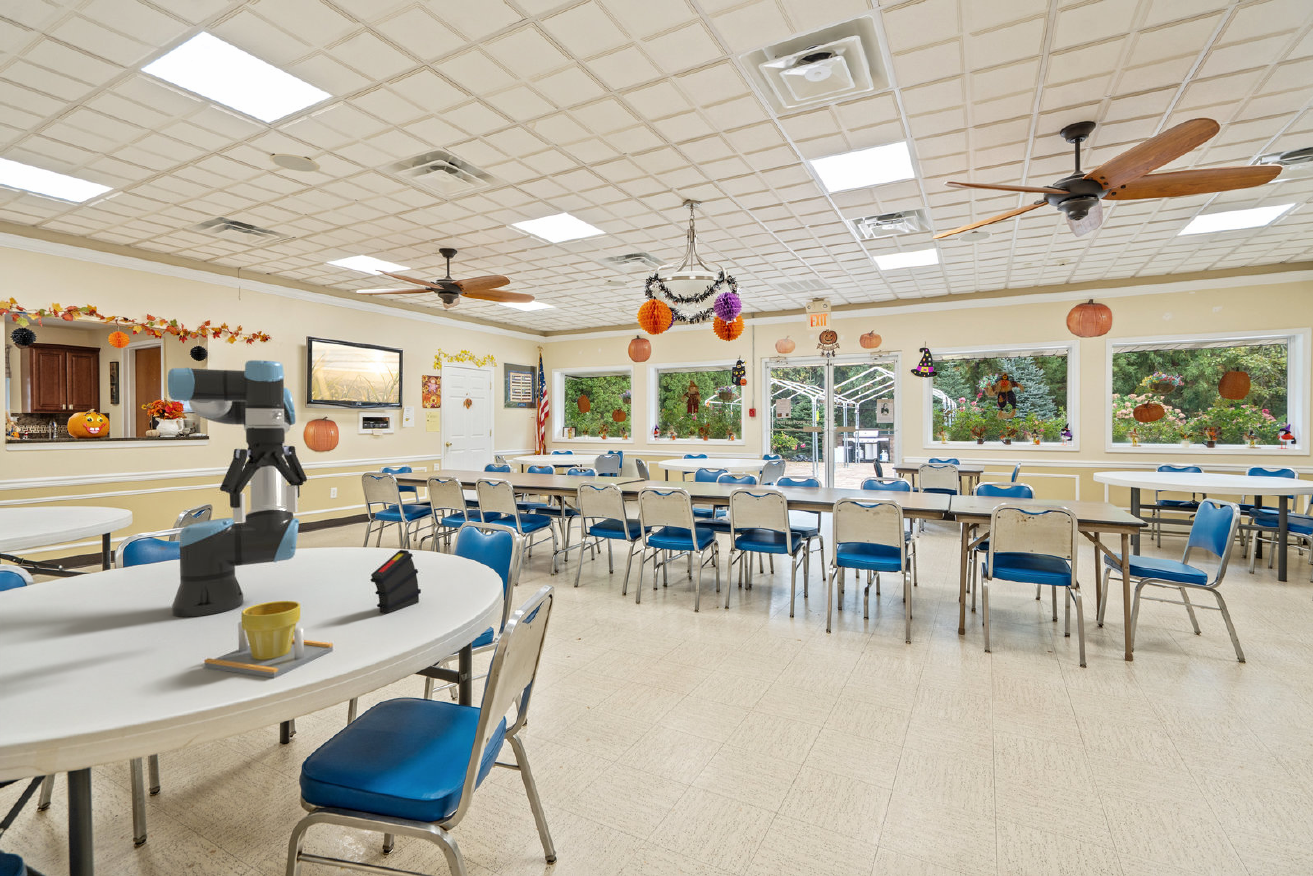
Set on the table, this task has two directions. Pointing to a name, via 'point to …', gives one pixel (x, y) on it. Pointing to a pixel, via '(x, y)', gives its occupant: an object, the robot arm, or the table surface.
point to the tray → (274, 667)
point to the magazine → (396, 583)
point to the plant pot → (270, 628)
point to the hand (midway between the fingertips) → (267, 516)
